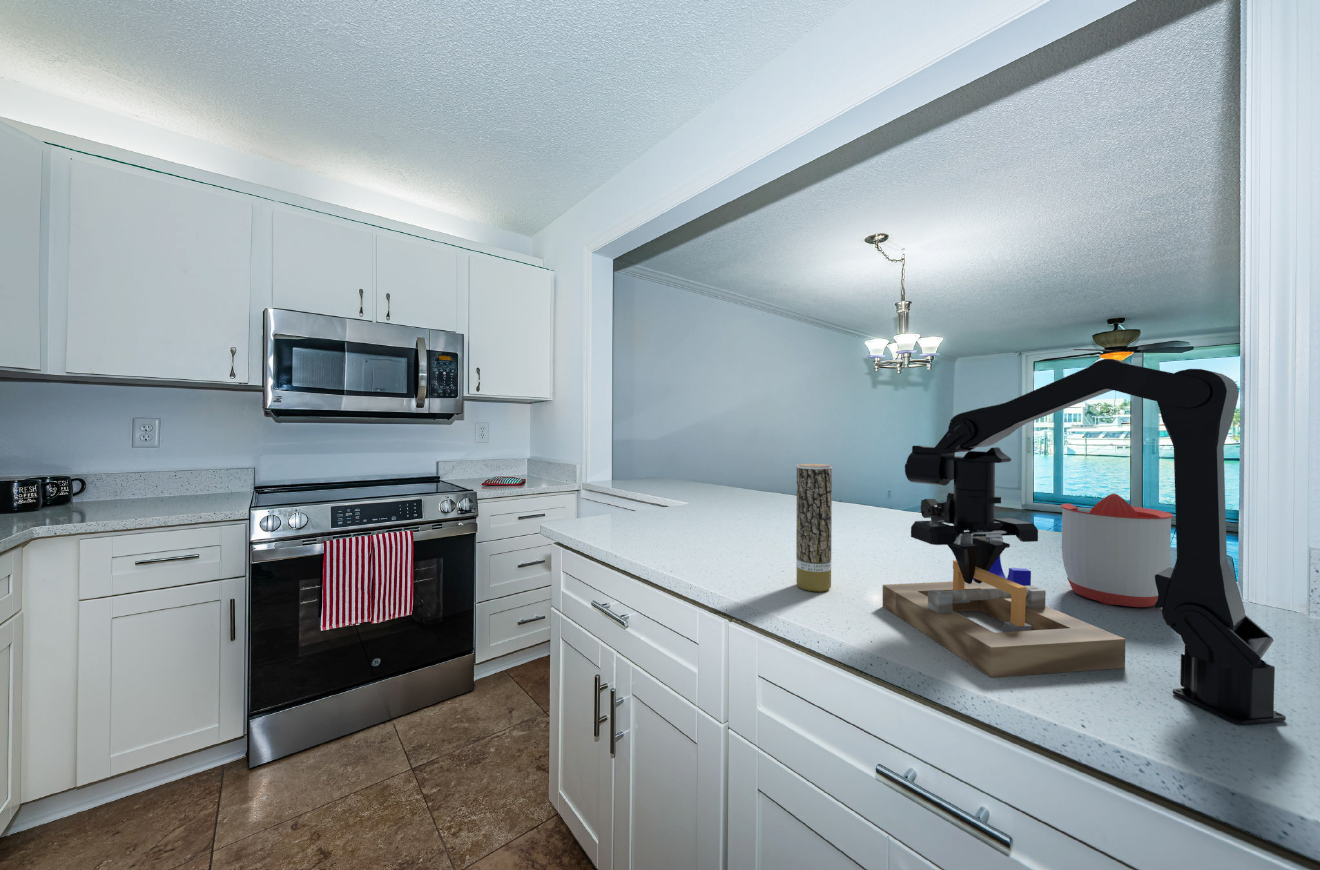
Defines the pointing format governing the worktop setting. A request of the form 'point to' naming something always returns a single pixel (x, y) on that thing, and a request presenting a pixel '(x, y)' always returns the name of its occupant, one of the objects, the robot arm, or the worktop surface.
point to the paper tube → (814, 526)
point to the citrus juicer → (1115, 551)
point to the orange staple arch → (1003, 584)
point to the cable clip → (1012, 573)
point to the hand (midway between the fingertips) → (972, 582)
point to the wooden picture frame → (1002, 654)
